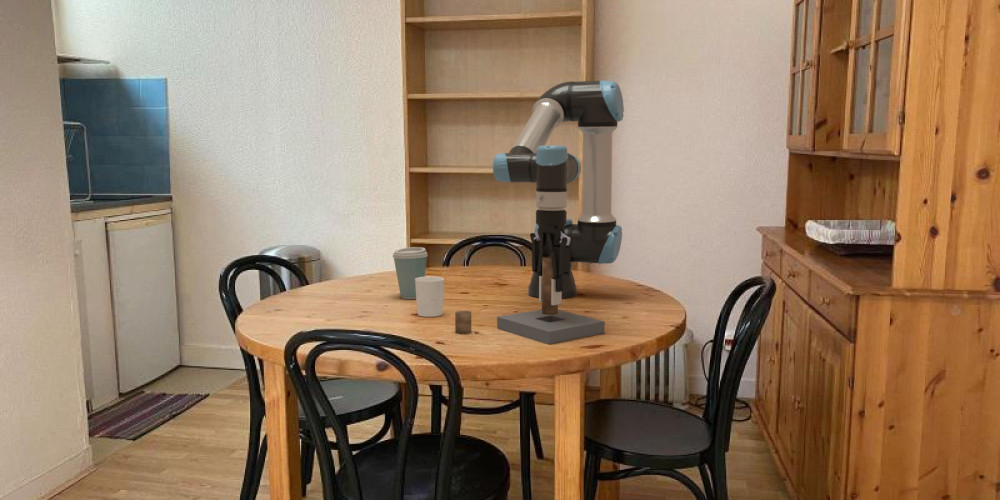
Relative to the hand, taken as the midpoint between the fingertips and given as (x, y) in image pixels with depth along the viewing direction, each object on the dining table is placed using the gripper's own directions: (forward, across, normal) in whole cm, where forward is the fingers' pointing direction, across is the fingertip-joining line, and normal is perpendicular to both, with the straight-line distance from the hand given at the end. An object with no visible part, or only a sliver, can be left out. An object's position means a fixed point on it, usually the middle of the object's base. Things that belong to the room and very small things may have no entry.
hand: (550, 302), depth 191 cm
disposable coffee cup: (+7, -58, -6) cm, 59 cm away
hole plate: (+7, 0, 0) cm, 7 cm away
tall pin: (+3, 0, 0) cm, 3 cm away
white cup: (+7, -34, -14) cm, 38 cm away
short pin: (+7, -12, -18) cm, 23 cm away
